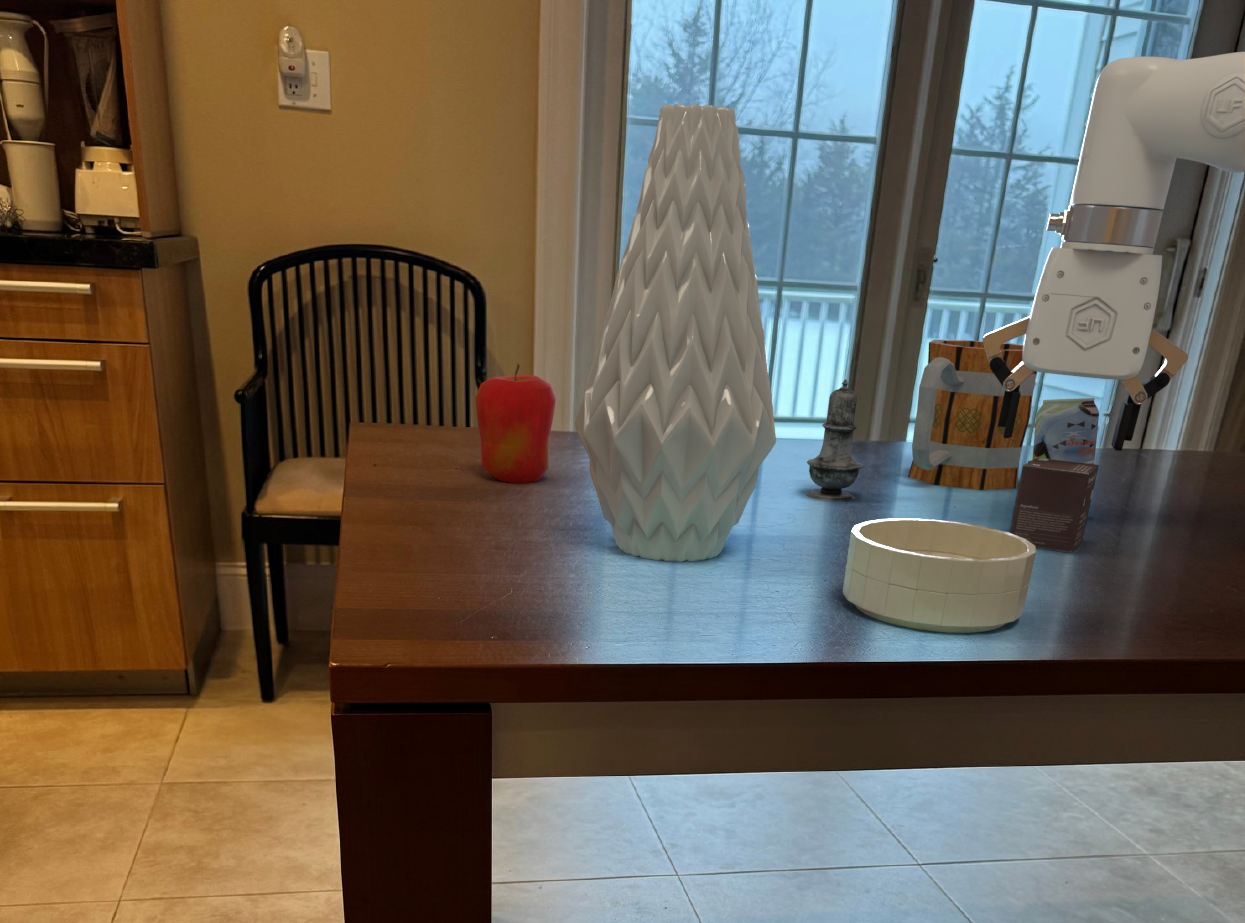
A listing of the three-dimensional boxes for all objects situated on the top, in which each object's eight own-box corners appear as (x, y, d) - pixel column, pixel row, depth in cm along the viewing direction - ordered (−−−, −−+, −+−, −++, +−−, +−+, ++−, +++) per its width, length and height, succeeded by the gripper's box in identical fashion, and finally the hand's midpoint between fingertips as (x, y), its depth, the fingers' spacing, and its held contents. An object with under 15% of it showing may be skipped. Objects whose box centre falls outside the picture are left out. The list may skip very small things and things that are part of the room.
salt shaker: (842, 505, 123) (858, 383, 118) (793, 496, 126) (806, 377, 121) (867, 498, 127) (884, 380, 122) (819, 489, 131) (833, 374, 125)
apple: (516, 469, 132) (517, 357, 127) (570, 481, 128) (574, 365, 122) (459, 477, 126) (458, 360, 121) (514, 490, 122) (515, 368, 116)
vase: (580, 523, 110) (593, 112, 95) (757, 534, 109) (799, 122, 94) (561, 567, 95) (574, 88, 80) (767, 580, 94) (819, 100, 79)
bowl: (1019, 600, 93) (1034, 530, 90) (1020, 647, 81) (1037, 569, 79) (852, 579, 96) (862, 511, 93) (831, 622, 85) (841, 546, 82)
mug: (939, 465, 149) (961, 338, 142) (1040, 483, 141) (1068, 348, 134) (857, 482, 136) (876, 342, 129) (963, 502, 128) (990, 354, 121)
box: (1071, 555, 108) (1090, 473, 104) (1005, 544, 110) (1021, 464, 107) (1082, 543, 113) (1100, 464, 109) (1019, 533, 115) (1034, 456, 112)
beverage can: (1068, 527, 119) (1096, 402, 113) (1004, 513, 124) (1028, 392, 118) (1098, 520, 123) (1126, 399, 117) (1035, 507, 127) (1059, 390, 122)
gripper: (1004, 224, 98) (963, 437, 106) (1226, 240, 94) (1165, 459, 102) (1005, 226, 105) (966, 426, 113) (1212, 240, 101) (1156, 447, 109)
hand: (1061, 442), depth 107 cm, fingers open, 9 cm apart
